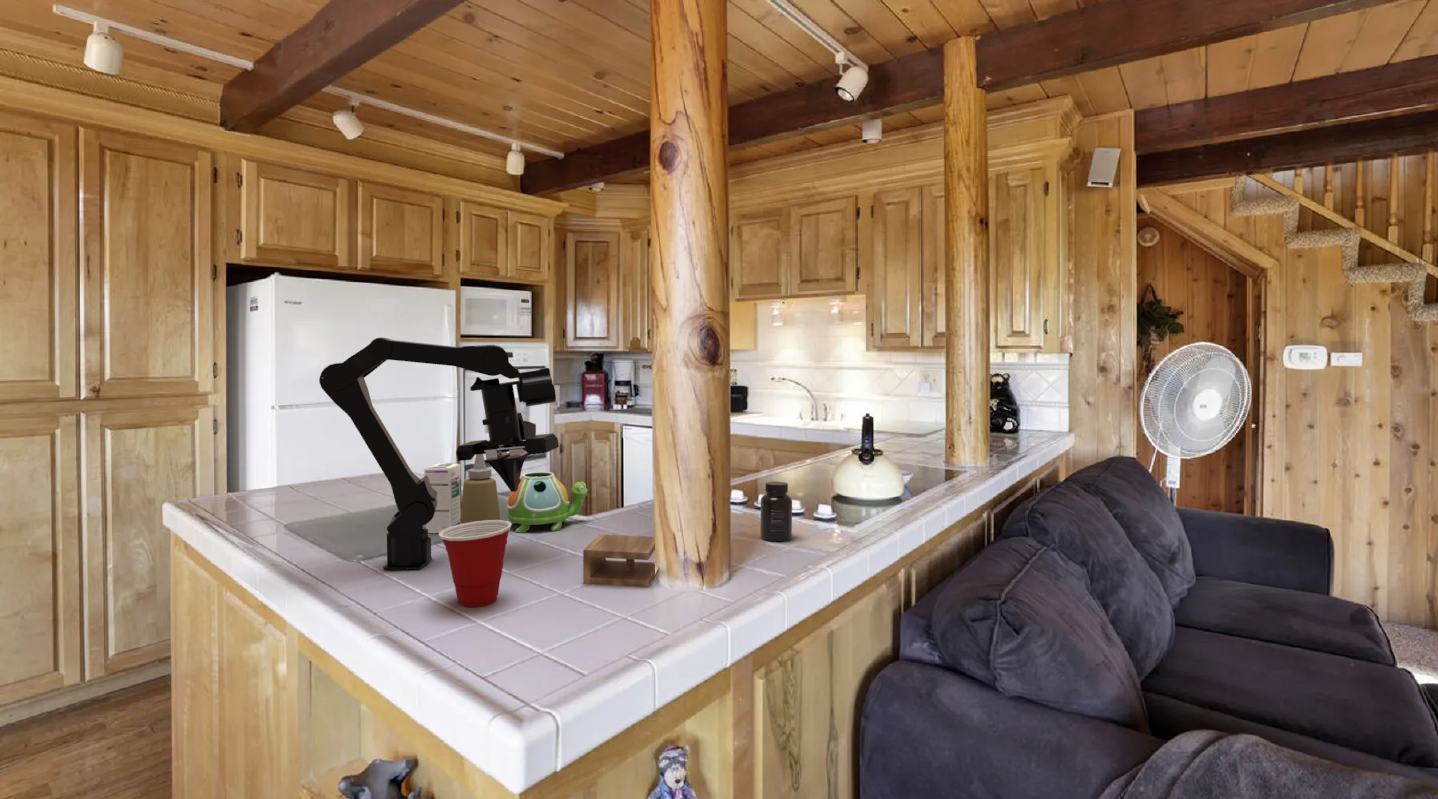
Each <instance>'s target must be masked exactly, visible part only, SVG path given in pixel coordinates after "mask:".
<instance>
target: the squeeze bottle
mask: <svg viewBox="0 0 1438 799" xmlns="http://www.w3.org/2000/svg"><path fill="white" fill-rule="evenodd" d="M474 459H475V460H474V463H473V468H469V469H468V470H467V471H468V472H467V477H468V479H465V480H464V481H463V487H462V494H461V500H462V505H461V516H460V523H461V524H464V523H469V522H475V521H485V520H501V514H500V507H499V506H500V505H499V498H498V497H499V496H498V488H497V481H496V480H495V479H494V478H492V468H490V467H487V465H486V463H485V462H484V460H485V457H484V454H477V455H475V458H474Z"/></svg>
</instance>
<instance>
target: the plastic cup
mask: <svg viewBox="0 0 1438 799" xmlns="http://www.w3.org/2000/svg"><path fill="white" fill-rule="evenodd" d="M511 527H512V522H511V521H510V520H503V519H500V520H485V521H475V522H469V523H464V524H459V525H456V526H452V527H449V528H447V529H444V530H442V531H441V532H440V533H439V534H438V537H439V538H440V539H441V540H442V541H443V544H444V546H445V551H446V552H447V557H448V562H449V567H450V568H449V569H450V571H451V575H452V581H453V585H454V588H455V594H456V599H457V601H458V604H459V605H460V606H463V607H467V608H476V607H478V608H480V607H486V606H487V605H491V604H493V603H494V602H496V600H497V598H498V594H499V590H500V584H501V578H502V574H503V567H504V560H505V553H506V546H507V544H508V538H509V532H510V529H511Z"/></svg>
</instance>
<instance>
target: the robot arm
mask: <svg viewBox="0 0 1438 799" xmlns="http://www.w3.org/2000/svg"><path fill="white" fill-rule="evenodd" d="M389 360H390V361H398V362H410V363H419V364H420V363H421V364H428V365H429V364H430V365H439V366H440V365H441V366H449V367H450V366H451V367H452V366H453V367H457V368H461V369H464V370H468V371H470V372H475V373H478V374H482V375H486V376H491V377H495V376H499V375H500V376H503V377H505V378H507V379H509V380H512V379H518V380H514V381H507V382H505V381H504V382H500V379H499V377H498V378H489V379H481V377H480V376H477V377H476V379H475V381H474V382H473V384H472V385H471V386H470V387H469V390H470V391H471V392H472V391H473V392H474V391H480V392H481V397H482V402H483V408H484V415H485V418H484V419H482V425H483V426H487V433H488V437H489V439H488V440H487V439H479V440H471V441H468V442H466V443H462V444H460V445H458V446H457V449H456V450H455V455H456V460H457V461H458V462H461V461H462V462H463V461H471V460H473V459H474V457H475V456H476V455H477V454H483V455H485V458H486V459H484V462H485V464H489V465H490V466H491V467H492V468H493V470H494V471H495V472H496V473H497V474H498V476H499V477H500V478H501V479H502V481H503V482H504V484H505V485H506V487H507V488H508V489H509V490H510V492H515V491H517V490H518V486H519V480H520V478H521V476H522V475H521V474H522V469H523V466H524V463H525V460H526V459H527V457H529V456H530V455H541V454H546V453H549V452H552V451H553V450H555V449H557V448H559V447H560V445H559V439H558V437H557V436H556V434H554V433H545V434H544V433H542V434H537V424H536V423H534V422H531V421H527V420H524V419H523V414H522V413H521V412H518V408H517V403H516V402H517V401H516V397H515V391H514V386H515V385H516V386H515V387H516V391H517V392H516V393H517V397H518V402H519V403H525V406H526V407H532V406H533V407H534V406H541V405H546V404H553V403H556V402H557V398H556V389H555V384H554V383H553V379H552V375H551V370H550V368H549V367H542V368H540V369H535V370H530V371H528V370H527V371H522V372H520V370H519V368H518V367H514V365H513V364H511V362H510V361H509V360H510V359H509V355H508V352H507V351H506V350H505V349H504V348H503V347H501V346H499V345H495V344H481V345H480V344H479V345H462V346H461V345H460V346H451V345H443V344H435V343H434V344H432V343H423V342H415V341H407V340H405V341H403V340H396V339H395V340H394V339H390V338H388V337H377V338H374V339H372V340H371V341H370V343H369V344H367V345H366V346H365V347H363V348H362V349H361V350H358V351H357V352H356V353H354V354H353V355H351V356H349V357H348V358H347V359H345V361H343V362H336V363H332V364H329V365H327V366H325V367H324V368H323V369H322V371H321V373H320V375H319V379H318V380H319V386H320V388H321V389H322V390H323V392H324V393H325V394H326V395H327V396H328V397H329V399H330V400H332V402H333V403H334V405H337V407H338V408H340V409H341V411H343V412H344V413H345V414H346V415H347V416H348V417H349V418H350V420H351V422H352V423H353V425H354V427H355V428H356V429H357V432H358V433H359V435H360V436H361V438H362V439H363V441H364V443H365V444H366V446H367V448H368V449H369V451H370V453H371V454H372V456H373V458H374V459H375V461H376V462H377V464H378V466H379V468H380V469H381V471H382V472H383V474H384V476H385V478H386V479H387V480H388V482H389V484H390V487H391V491H392V494H393V497H394V501H395V504H396V508H397V510H398V511H397V512H396V513H395V514H393V516H392V517H391V519H390V521H389V522H388V525H387V527H386V530H387V533H386V561H387V562H386V564H385V565H383V567H382V569H383V570H421V569H422V568H423V567H424V566H425V565H426V564H428V563H429V562H430V561H431V560H433V559H432V538H431V537H429V533H428V529H426V528H424V526H426V524H427V523H429V522H430V521H431V519H432V518H433V516H434V513H435V510H436V507H437V499H436V497H437V494H438V492H437V491H435V490H434V489H433V488H432V486H431V484H430V481H429V479H428V476H423V477H422V478H419V476H417V475H416V474H415V473H414V472H413V471H412V469H411V467H410V466H409V464H408V463H407V461H406V459H405V457H404V456H403V454H402V453H401V451H400V450H399V448H398V446H397V444H396V443H395V441H394V439H393V438H392V436H391V435H390V433H389V431H388V429H387V427H386V426H385V425H384V423H383V421H382V420H381V417H380V416H379V414H378V413H377V410H376V409H375V408H374V406H373V403H372V399H371V395H370V390H369V387H368V385H367V382H366V380H365V378H366V377H367V376H369V375H370V374H372V372H374V371H375V370H376V369H378V368H379V367H380V366H381V365H383V364H384V363H385V362H386V361H389Z"/></svg>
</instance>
